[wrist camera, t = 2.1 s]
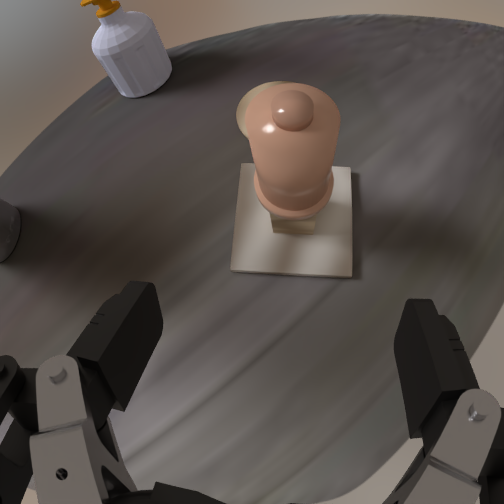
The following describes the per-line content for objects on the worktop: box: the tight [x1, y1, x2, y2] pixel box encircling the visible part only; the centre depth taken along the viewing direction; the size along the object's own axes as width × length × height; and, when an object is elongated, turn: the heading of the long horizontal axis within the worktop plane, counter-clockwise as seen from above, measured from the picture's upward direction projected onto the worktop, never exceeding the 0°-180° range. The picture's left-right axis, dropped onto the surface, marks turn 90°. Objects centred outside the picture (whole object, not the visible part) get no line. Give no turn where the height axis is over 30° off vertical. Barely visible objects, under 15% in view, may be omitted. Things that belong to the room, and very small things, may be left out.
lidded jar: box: [245, 83, 340, 220], centre depth 22 cm, size 6×6×10 cm
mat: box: [236, 81, 295, 140], centre depth 38 cm, size 11×11×1 cm
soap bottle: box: [80, 0, 172, 98], centre depth 31 cm, size 9×9×25 cm
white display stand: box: [230, 163, 352, 278], centre depth 30 cm, size 12×12×8 cm
